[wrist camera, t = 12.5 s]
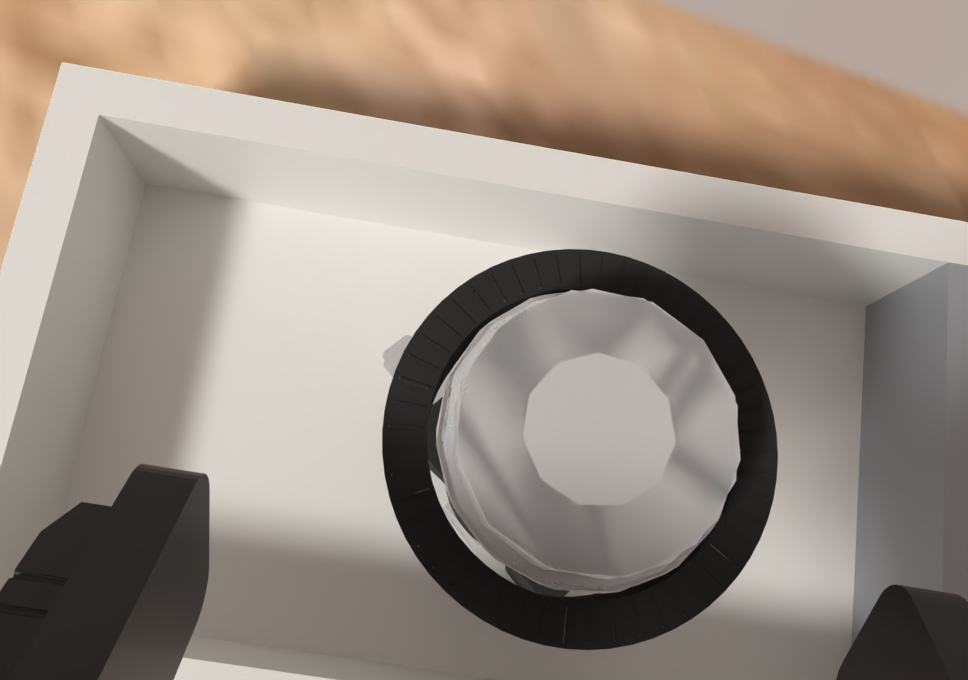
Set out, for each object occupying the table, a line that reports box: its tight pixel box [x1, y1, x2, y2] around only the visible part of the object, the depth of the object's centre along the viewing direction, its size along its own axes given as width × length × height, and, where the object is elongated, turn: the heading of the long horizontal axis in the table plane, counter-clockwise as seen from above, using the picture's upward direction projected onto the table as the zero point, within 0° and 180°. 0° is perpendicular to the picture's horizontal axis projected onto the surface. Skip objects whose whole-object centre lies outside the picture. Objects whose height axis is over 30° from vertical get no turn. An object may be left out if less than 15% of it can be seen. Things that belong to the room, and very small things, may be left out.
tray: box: [0, 62, 968, 680], centre depth 20 cm, size 20×12×4 cm, turn 82°
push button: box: [382, 249, 778, 650], centre depth 16 cm, size 7×5×10 cm
